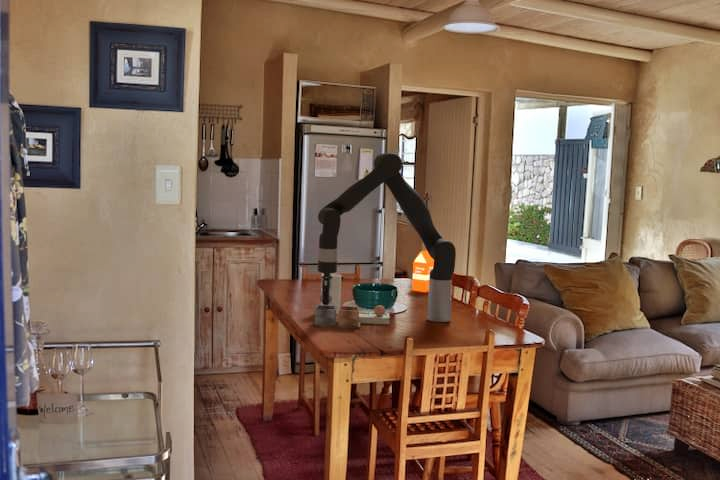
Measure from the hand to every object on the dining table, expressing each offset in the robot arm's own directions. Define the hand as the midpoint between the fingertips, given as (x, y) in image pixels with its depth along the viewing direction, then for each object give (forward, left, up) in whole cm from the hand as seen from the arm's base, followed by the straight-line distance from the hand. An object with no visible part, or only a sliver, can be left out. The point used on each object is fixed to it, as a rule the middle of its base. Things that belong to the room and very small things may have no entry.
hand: (326, 303), depth 268 cm
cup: (-1, -22, -9) cm, 23 cm away
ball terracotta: (-21, -10, -6) cm, 24 cm away
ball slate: (0, 0, 0) cm, 0 cm away
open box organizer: (-5, 0, -8) cm, 10 cm away
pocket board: (-18, -10, -8) cm, 22 cm away
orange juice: (-44, -82, -9) cm, 93 cm away
